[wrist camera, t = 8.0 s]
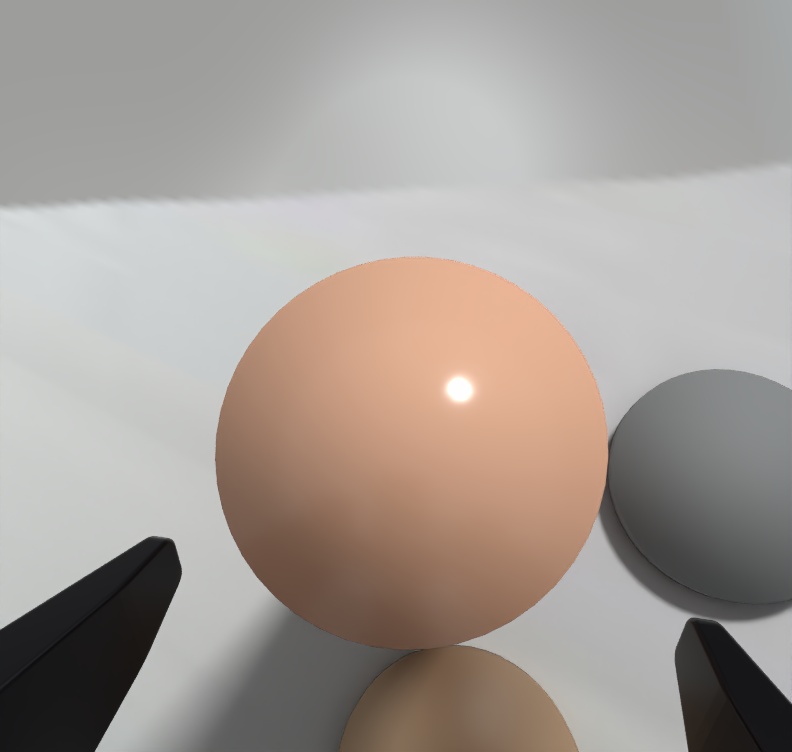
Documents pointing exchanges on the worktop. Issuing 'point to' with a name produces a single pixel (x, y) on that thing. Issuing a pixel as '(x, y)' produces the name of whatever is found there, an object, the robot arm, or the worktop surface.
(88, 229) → the worktop surface
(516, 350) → the post
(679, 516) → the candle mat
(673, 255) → the worktop surface
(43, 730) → the robot arm
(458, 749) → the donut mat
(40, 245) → the worktop surface
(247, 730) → the worktop surface
